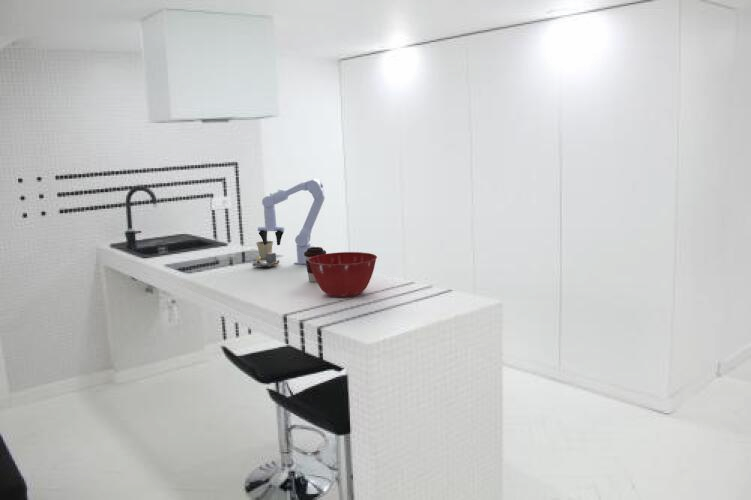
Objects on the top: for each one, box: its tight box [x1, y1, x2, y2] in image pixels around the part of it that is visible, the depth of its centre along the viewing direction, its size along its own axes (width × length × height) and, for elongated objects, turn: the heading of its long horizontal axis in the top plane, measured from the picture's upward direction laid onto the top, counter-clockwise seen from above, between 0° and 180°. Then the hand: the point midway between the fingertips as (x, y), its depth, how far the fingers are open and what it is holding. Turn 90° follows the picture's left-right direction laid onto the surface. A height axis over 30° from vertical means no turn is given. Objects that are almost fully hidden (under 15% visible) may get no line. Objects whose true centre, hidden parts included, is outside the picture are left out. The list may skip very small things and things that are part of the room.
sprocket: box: [251, 255, 280, 268], centre depth 342 cm, size 14×14×4 cm
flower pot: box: [255, 240, 274, 260], centre depth 366 cm, size 9×9×9 cm
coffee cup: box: [304, 246, 327, 283], centre depth 304 cm, size 10×10×15 cm
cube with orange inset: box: [265, 252, 277, 263], centre depth 341 cm, size 4×4×4 cm
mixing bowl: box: [308, 251, 378, 298], centre depth 277 cm, size 28×28×15 cm
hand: (272, 244), depth 348 cm, fingers open, 7 cm apart
